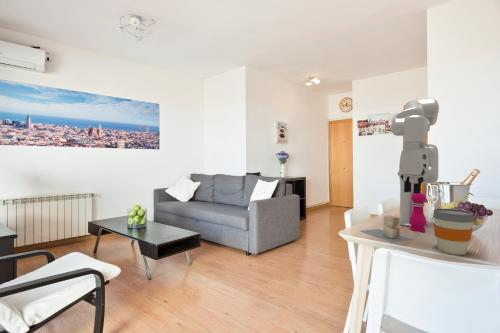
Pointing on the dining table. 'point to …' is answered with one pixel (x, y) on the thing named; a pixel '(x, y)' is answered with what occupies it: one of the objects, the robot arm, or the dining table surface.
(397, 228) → the beech block
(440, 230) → the reusable coffee cup
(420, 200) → the pepper mill
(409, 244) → the dining table surface
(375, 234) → the slate mat
